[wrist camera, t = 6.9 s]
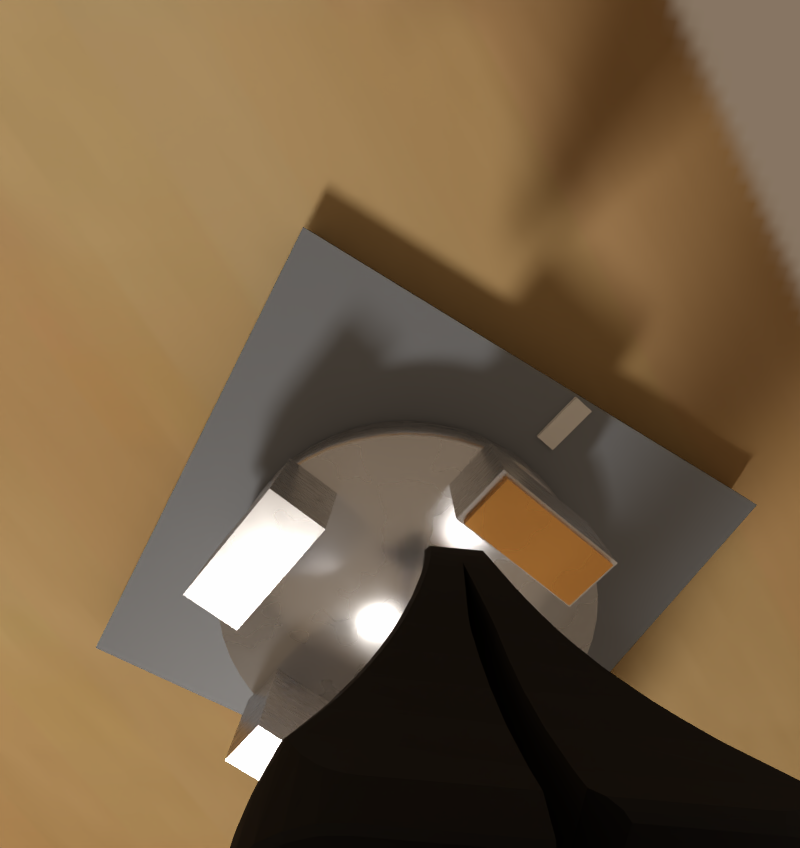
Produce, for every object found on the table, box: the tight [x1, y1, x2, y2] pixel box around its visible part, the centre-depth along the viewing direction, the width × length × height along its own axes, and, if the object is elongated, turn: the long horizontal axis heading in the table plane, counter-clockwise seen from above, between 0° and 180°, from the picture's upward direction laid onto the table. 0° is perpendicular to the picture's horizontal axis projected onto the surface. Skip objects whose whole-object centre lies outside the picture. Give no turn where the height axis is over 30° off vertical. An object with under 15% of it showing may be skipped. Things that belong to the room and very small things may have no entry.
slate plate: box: [96, 227, 756, 715], centre depth 21 cm, size 20×20×2 cm
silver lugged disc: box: [183, 421, 618, 780], centre depth 17 cm, size 15×15×5 cm
